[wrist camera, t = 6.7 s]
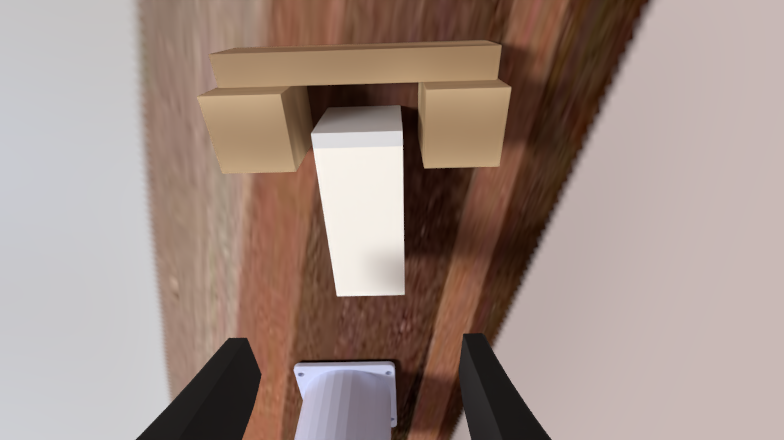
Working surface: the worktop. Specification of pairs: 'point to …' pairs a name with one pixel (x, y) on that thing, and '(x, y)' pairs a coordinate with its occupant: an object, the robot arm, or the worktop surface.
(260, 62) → the tan bridge
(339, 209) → the white block
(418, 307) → the worktop surface
